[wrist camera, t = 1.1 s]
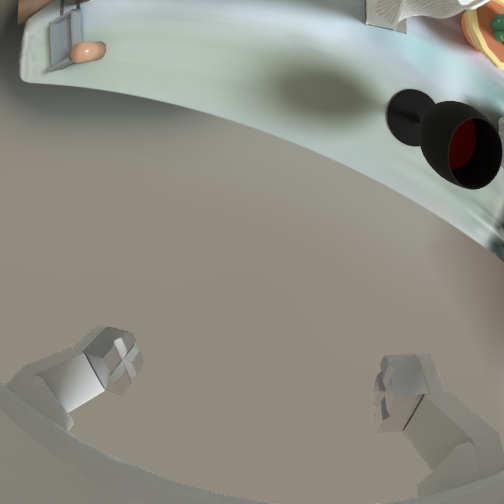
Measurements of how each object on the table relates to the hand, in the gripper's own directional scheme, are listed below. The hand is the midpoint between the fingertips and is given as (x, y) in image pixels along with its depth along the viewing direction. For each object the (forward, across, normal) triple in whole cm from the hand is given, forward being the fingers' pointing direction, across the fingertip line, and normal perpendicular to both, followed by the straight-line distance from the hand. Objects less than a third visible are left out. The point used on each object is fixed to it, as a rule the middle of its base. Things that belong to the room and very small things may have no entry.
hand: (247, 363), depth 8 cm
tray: (+33, +42, -35) cm, 64 cm away
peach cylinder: (+34, +35, -29) cm, 57 cm away
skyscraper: (+38, -15, -29) cm, 50 cm away
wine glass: (+42, -20, -11) cm, 48 cm away
